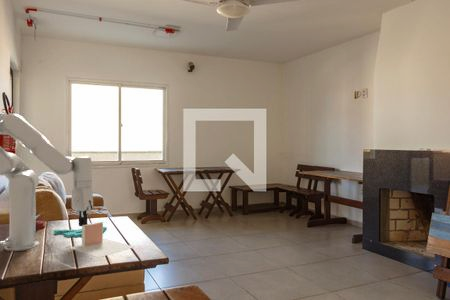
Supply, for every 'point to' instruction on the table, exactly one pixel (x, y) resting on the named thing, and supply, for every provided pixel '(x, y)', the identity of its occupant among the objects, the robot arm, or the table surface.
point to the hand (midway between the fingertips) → (83, 225)
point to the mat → (102, 248)
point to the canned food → (40, 223)
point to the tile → (92, 234)
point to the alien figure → (72, 232)
